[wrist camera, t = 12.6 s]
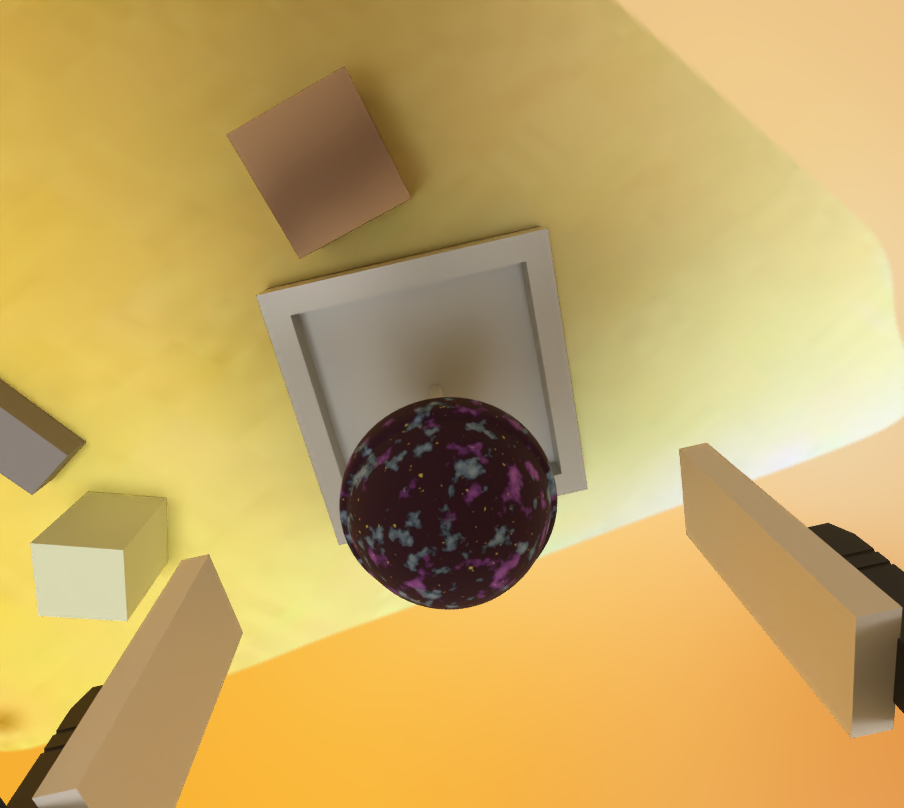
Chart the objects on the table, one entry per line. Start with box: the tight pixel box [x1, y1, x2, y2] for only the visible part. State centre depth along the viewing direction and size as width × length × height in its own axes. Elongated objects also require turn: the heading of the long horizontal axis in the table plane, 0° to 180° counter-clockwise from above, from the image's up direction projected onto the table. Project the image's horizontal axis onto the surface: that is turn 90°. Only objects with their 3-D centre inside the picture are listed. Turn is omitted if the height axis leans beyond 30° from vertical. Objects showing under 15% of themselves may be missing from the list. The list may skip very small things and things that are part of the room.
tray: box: [256, 227, 588, 545], centre depth 29 cm, size 13×13×2 cm
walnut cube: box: [226, 66, 411, 259], centre depth 24 cm, size 5×5×5 cm
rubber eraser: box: [0, 379, 86, 495], centre depth 29 cm, size 6×3×2 cm, turn 44°
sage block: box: [30, 491, 168, 621], centre depth 29 cm, size 4×4×5 cm
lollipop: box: [339, 385, 557, 609], centre depth 22 cm, size 7×7×15 cm
